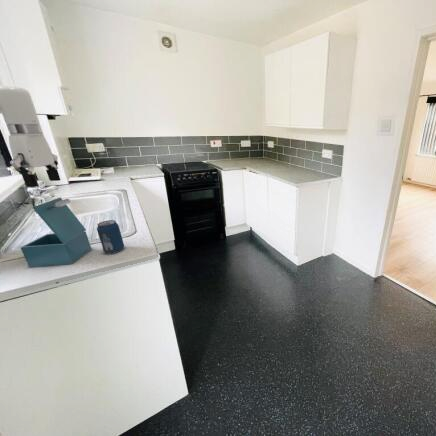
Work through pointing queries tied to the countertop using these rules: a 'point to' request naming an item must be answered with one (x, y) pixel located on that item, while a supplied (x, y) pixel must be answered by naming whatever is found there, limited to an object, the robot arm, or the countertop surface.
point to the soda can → (110, 236)
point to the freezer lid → (60, 219)
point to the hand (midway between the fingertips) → (44, 183)
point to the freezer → (55, 250)
